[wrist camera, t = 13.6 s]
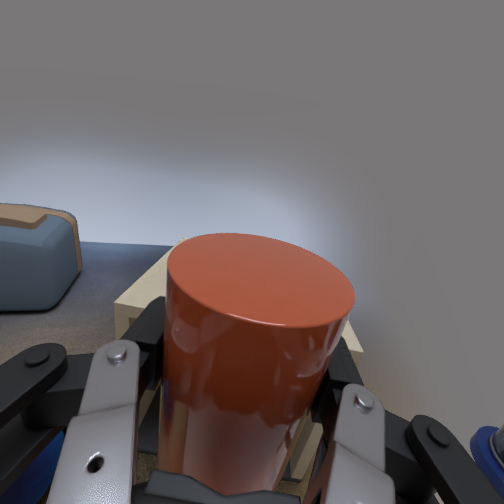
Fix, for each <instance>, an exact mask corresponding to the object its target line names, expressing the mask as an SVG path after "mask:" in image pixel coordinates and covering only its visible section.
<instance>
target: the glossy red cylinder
mask: <svg viewBox="0 0 504 504" xmlns="http://www.w3.org/2000/svg"><path fill="white" fill-rule="evenodd" d="M354 303H355V294H354V289H353V287H352V285H351V283H350V281H349V280H348V278H347V277H345V275H344V274H343V273H342V272H341V271H340V270H339V269H337V268H336V267H335V266H334V265H332V264H331V263H330V262H328V261H326V260H325V259H323V258H321V257H319V256H318V255H316V254H314V253H312V252H310V251H308V250H305V249H303V248H301V247H298V246H295V245H293V244H290V243H286V242H283V241H280V240H276V239H272V238H267V237H263V236H257V235H250V234H239V233H216V234H207V235H202V236H197V237H194V238H191V239H188V240H186V241H184V242H182V243H180V244H179V245H177V246H176V247H175V248H174V249H173V250H172V251H171V253H170V255H169V257H168V260H167V272H166V292H165V311H164V331H163V351H162V370H161V390H160V409H159V429H158V449H157V469H158V470H163V471H168V472H174V473H179V474H184V475H189V476H191V477H193V478H194V479H196V480H198V481H200V482H201V483H203V484H205V485H206V486H208V487H210V488H212V489H213V490H215V491H217V492H219V493H220V494H222V495H226V496H227V495H235V494H241V493H247V492H253V491H259V490H269V491H274V492H276V491H277V488H278V486H279V484H280V481H281V479H282V476H283V474H284V472H285V469H286V467H287V464H288V462H289V460H290V457H291V455H292V452H293V450H294V448H295V445H296V443H297V440H298V438H299V436H300V433H301V431H302V428H303V426H304V424H305V421H306V419H307V416H308V414H309V412H310V409H311V407H312V404H313V402H314V400H315V397H316V395H317V392H318V390H319V388H320V385H321V383H322V380H323V378H324V376H325V373H326V371H327V368H328V366H329V364H330V361H331V359H332V356H333V354H334V352H335V349H336V347H337V344H338V342H339V340H340V337H341V335H342V332H343V330H344V328H345V325H346V323H347V320H348V318H349V316H350V313H351V310H352V308H353V306H354Z"/></svg>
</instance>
